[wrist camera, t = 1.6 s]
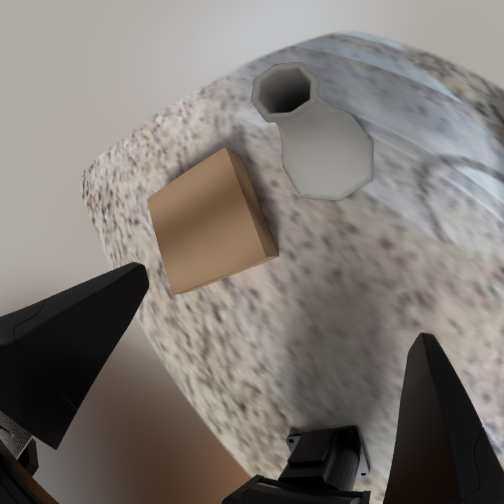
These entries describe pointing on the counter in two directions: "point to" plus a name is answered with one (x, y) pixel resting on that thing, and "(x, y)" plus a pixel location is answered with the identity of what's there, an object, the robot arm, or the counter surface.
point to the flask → (313, 134)
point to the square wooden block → (210, 223)
